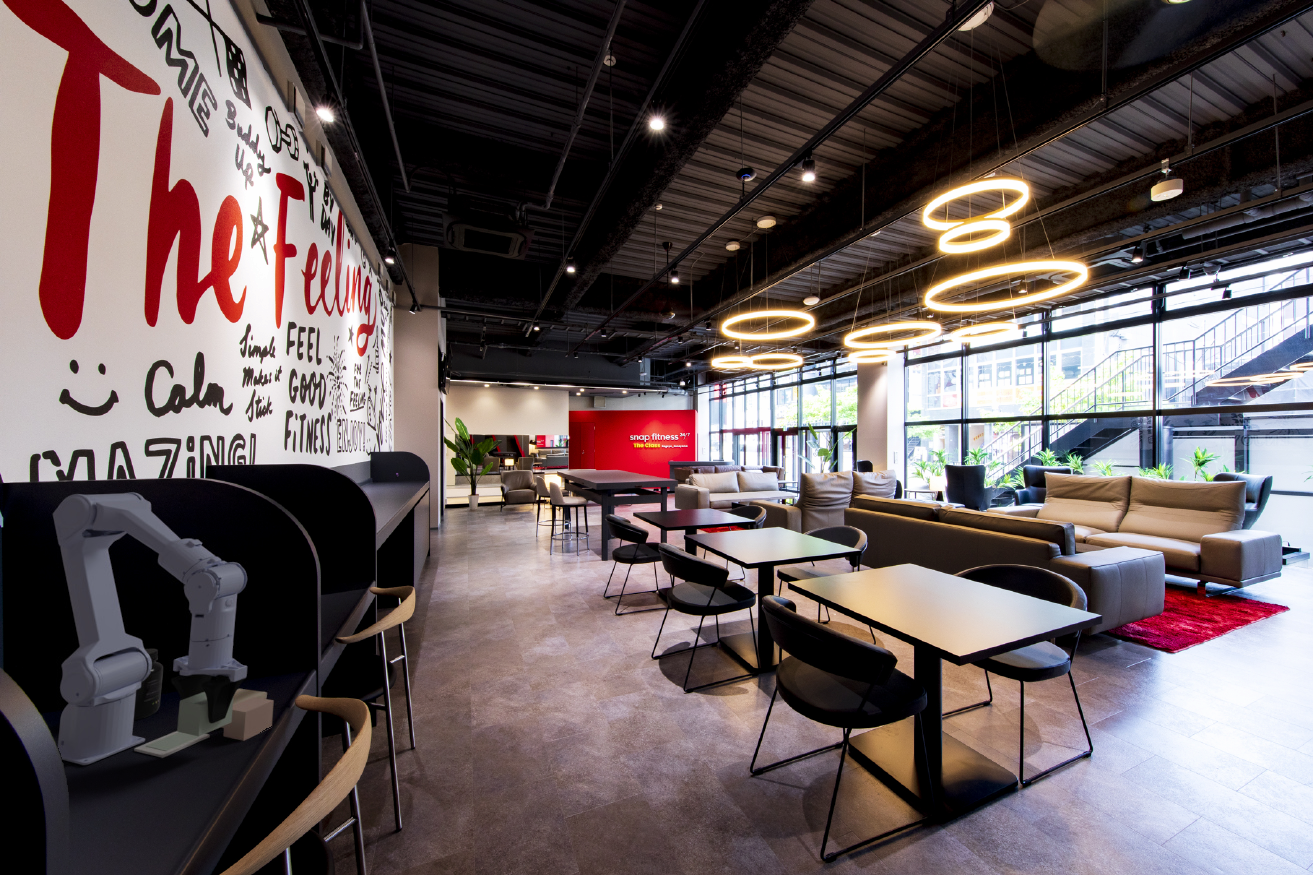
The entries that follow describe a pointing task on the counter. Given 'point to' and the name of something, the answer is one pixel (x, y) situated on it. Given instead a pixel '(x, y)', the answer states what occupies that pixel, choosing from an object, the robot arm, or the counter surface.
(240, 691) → the maple block
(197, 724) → the sage block
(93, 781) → the counter surface
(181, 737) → the card
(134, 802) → the counter surface
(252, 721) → the terracotta block
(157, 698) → the supplement bottle
